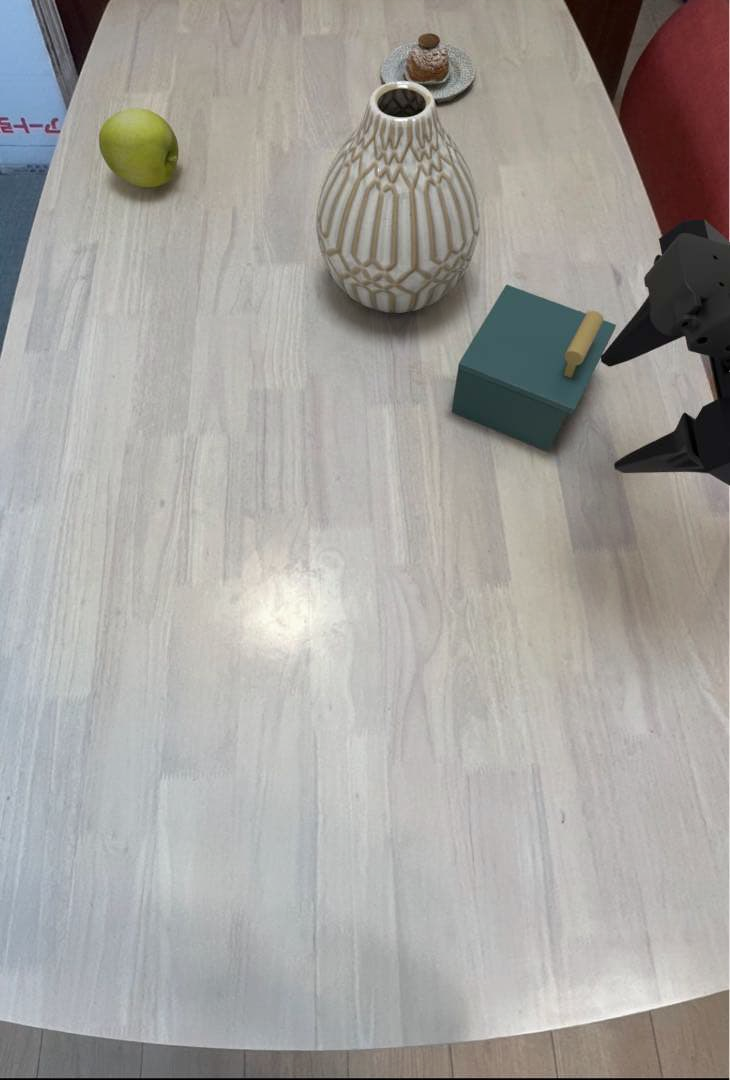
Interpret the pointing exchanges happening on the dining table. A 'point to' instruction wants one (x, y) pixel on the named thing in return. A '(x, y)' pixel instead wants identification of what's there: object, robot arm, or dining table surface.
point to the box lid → (538, 348)
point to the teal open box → (506, 411)
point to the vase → (398, 205)
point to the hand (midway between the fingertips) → (610, 413)
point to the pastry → (430, 67)
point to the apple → (139, 147)
